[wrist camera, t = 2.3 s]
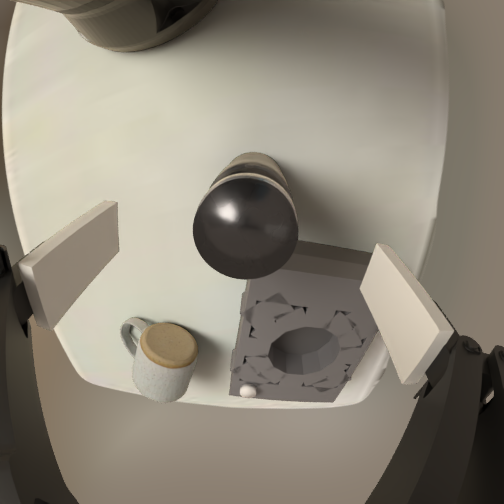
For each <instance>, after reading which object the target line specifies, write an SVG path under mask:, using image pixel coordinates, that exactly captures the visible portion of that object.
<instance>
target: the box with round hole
mask: <svg viewBox="0 0 504 504" xmlns="http://www.w3.org/2000/svg"><path fill="white" fill-rule="evenodd" d="M372 255H373V253H368V252H363V251H357V250H351V249H346V248H340V247H334V246H329V245H323V244H317V243H311V242H305V241H300V240H297V244H296V247H295V250H294V252H293V254H292V256H291V257H290V259H289V260H288V261H287V262H286V263H285V265H283V266H282V267H281V268H280V269H279V270H277V271H276V272H274V273H272V274H270V275H268V276H265V277H262V278H257V279H247V284H246V290H245V292H244V293H242V300H241V309H240V314H241V318H240V323H239V329H238V335H237V340H236V346H235V349H234V350H233V351H232V359H231V367H230V371H232V374H231V382H230V391H229V395H233V396H240V397H245V398H258V399H269V400H281V401H298V402H334V401H335V399H336V398H337V396H338V395H339V393H340V392H341V390H342V389H343V387H344V386H345V384H346V383H347V381H349V380H351V375H352V374H353V372H354V370H355V369H356V367H357V366H358V364H359V362H360V361H361V359H362V357H363V356H364V354H365V352H366V351H367V349H368V347H369V345H370V344H371V342H372V340H373V338H374V336H375V335H376V333H377V331H379V329H378V326H377V324H376V322H375V320H374V318H373V316H372V313H371V311H370V309H369V307H368V305H367V303H366V301H365V299H364V297H363V295H362V293H361V290H360V286H361V284H362V281H363V279H364V276H365V273H366V271H367V268H368V266H369V263H370V260H371V257H372Z"/></svg>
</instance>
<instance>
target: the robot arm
mask: <svg viewBox="0 0 504 504" xmlns="http://www.w3.org/2000/svg"><path fill="white" fill-rule="evenodd" d="M11 1H16V2H21V3H26V4H30V5H34V6H38V7H42V8H45V9H49V10H53V11H56V12H59V13H62V14H63V15H64V16H65V17H66V18H67V19H68V20H69V21H70V22H71V23H72V25H73V26H74V27H75V29H76V30H77V31H78V33H79V34H80V35H81V36H82V37H83V38H84V39H85V40H86V41H88V42H90V43H91V44H94V45H96V46H99V47H102V48H105V49H108V50H112V51H119V52H132V51H139V50H144V49H148V48H152V47H155V46H158V45H161V44H163V43H165V42H168V41H170V40H172V39H174V38H176V37H177V36H179V35H181V34H183V33H184V32H186V31H187V30H189V29H190V28H191V27H193V26H194V25H195V24H197V23H198V22H199V21H200V20H201V19H203V18H204V17H205V16H206V15H207V14H208V12H209V11H210V10H211V9H212V8H213V7H214V5H215V4H216V3H217V1H218V0H11ZM118 252H119V236H118V206H117V202H113V201H104V202H102V203H100V204H99V205H97V206H96V207H94V208H93V209H91V210H89V211H88V212H86V213H85V214H83V215H82V216H80V217H79V218H77V219H76V220H74V221H73V222H71V223H70V224H69V225H67V226H66V227H64V228H63V229H61V230H60V231H59V232H57V233H56V234H54V235H53V236H52V237H50V238H49V239H48V240H46V241H44V242H42V243H41V244H40V245H38V246H37V247H36V248H35V249H33V250H32V251H31V252H30V253H29V254H27V255H26V256H25V257H23V258H22V259H21V260H19V261H18V262H17V263H16V264H15V265H14V266H13V267H11V264H10V260H9V256H8V252H7V248H6V247H5V246H4V245H0V504H79V503H78V502H77V500H76V499H75V497H74V496H73V495H72V493H71V492H70V491H69V490H68V488H67V487H66V484H65V482H64V480H63V478H62V475H61V472H60V469H59V467H58V464H57V461H56V459H55V455H54V452H53V449H52V446H51V443H50V439H49V436H48V432H47V428H46V425H45V421H44V417H43V412H42V408H41V403H40V398H39V393H38V387H37V381H36V374H35V367H34V359H33V349H32V337H31V326H30V322H29V320H28V319H29V318H30V316H31V315H32V314H34V317H35V320H36V323H37V325H38V326H39V327H42V328H44V329H47V330H49V331H52V330H53V328H54V327H55V326H56V325H57V323H58V322H59V321H60V319H61V318H62V317H63V316H64V314H65V313H66V312H67V311H68V309H69V308H70V307H71V306H72V304H73V303H74V302H75V301H76V300H77V298H78V297H79V296H80V295H81V294H82V292H83V291H84V290H85V289H86V288H87V286H88V285H89V284H90V283H91V282H92V281H93V280H94V278H95V277H96V276H97V275H98V274H99V273H100V272H101V270H102V269H103V268H104V267H105V266H106V265H107V264H108V263H109V262H110V261H111V259H112V258H113V257H114V256H115V255H116V254H117V253H118ZM360 290H361V293H362V295H363V297H364V299H365V301H366V303H367V305H368V307H369V309H370V311H371V313H372V316H373V318H374V320H375V322H376V324H377V326H378V329H379V331H380V333H381V335H382V338H383V340H384V342H385V344H386V347H387V349H388V351H389V354H390V356H391V359H392V361H393V363H394V366H395V368H396V371H397V373H398V376H399V378H400V381H401V383H402V385H405V384H417V382H418V381H419V380H420V379H421V378H422V376H423V375H424V374H425V373H426V375H427V378H428V380H427V382H426V383H425V384H424V385H423V387H422V388H421V389H420V390H419V391H418V393H417V394H416V395H415V396H414V399H416V398H417V397H418V396H419V399H418V402H417V404H416V407H415V409H414V412H413V414H412V417H411V419H410V421H409V424H408V426H407V428H406V430H405V433H404V435H403V437H402V439H401V441H400V443H399V445H398V447H397V449H396V451H395V453H394V455H393V457H392V459H391V461H390V463H389V465H388V466H387V468H386V470H385V472H384V473H383V475H382V477H381V479H380V481H379V482H378V484H377V485H376V487H375V489H374V490H373V492H372V493H371V495H370V496H369V498H368V500H367V501H366V503H365V504H504V347H502V346H499V345H497V346H495V347H494V349H493V350H492V352H491V353H490V354H486V353H483V352H482V349H481V347H480V346H479V344H478V343H477V342H476V341H475V340H473V339H472V338H470V337H468V336H459V334H458V333H457V331H456V330H455V328H454V327H453V325H452V324H451V322H450V321H449V320H448V318H446V315H445V314H444V313H443V312H442V310H441V309H440V307H439V306H438V304H437V303H436V302H435V301H434V300H433V299H431V297H430V296H429V295H428V293H427V292H426V291H425V289H424V288H423V287H422V285H421V284H420V283H419V282H418V280H417V279H416V278H415V276H414V275H413V274H412V273H411V271H410V270H409V269H408V268H407V267H406V265H405V264H404V263H403V262H402V260H401V259H400V258H399V257H398V256H397V255H396V253H395V252H394V251H393V250H392V249H391V247H390V246H388V245H383V244H378V243H376V246H375V249H374V252H373V255H372V257H371V260H370V263H369V266H368V268H367V271H366V273H365V276H364V279H363V281H362V284H361V286H360ZM493 390H494V397H493V398H492V399H491V400H490V401H489V402H488V403H487V404H486V398H487V397H488V396H489V395H490V394H491V392H492V391H493Z"/></svg>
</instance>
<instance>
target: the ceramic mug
mask: <svg viewBox="0 0 504 504" xmlns="http://www.w3.org/2000/svg"><path fill="white" fill-rule="evenodd" d="M131 325H133V326H134V327H136V328H137V329H138V330H140V331H141V332H142V335H141V337H140V339H139V341H138V344H137V346H136V345H135V343H134V342H133V340H132V338H131V336H130V333H129V330H130V326H131ZM120 335H121V339H122V341H123V344H124V345H125V347H126V349H127V350H128V352H129V353H130V354H131V355H132V357H133V358H134V364H133V368H132V378H133V382H134V384H135V386H136V388H137V389H138V390H139V391H140V392H141V393H142V394H143V395H144V396H146V397H147V398H149V399H151V400H153V401H157V402H164V403H167V402H173V401H176V400H178V399H179V398H181V397H182V396H183V395H184V394H185V392H186V391H187V388H188V385H189V382H190V379H191V377H192V373H193V371H194V368H195V366H196V363H197V358H198V346H197V343H196V341H195V339H194V337H193V336H192V335H191V334H190V333H189V332H188V331H187V330H185V329H183V328H182V327H180V326H177V325H175V324H171V323H156V324H153V325H151V326H149V325H148V324H147V323H145V322H144V321H143V320H141V319H139V318H136V317H132V318H130V319H128V320H126V321H125V322H123V324H122V325H121V328H120Z"/></svg>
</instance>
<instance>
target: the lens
mask: <svg viewBox="0 0 504 504" xmlns="http://www.w3.org/2000/svg"><path fill="white" fill-rule="evenodd" d="M193 237H194V241H195V245H196V247H197V250H198V252H199V253H200V255H201V257H202V258H203V259H204V260H205V262H206V263H207V264H208V265H209V266H211V267H212V268H213V269H215V270H216V271H218V272H219V273H221V274H224V275H226V276H229V277H232V278H237V279H257V278H262V277H265V276H268V275H270V274H272V273H274V272H276V271H277V270H279V269H280V268H281V267H282V266H283V265H285V263H286V262H287V261H288V260H289V259H290V257H291V256H292V254H293V252H294V250H295V247H296V244H297V240H298V218H297V213H296V210H295V207H294V204H293V199H292V196H291V193H290V190H289V187H288V184H287V182H286V179H285V178H284V176H283V174H282V173H281V170H280V168H279V166H278V165H277V163H276V162H275V161H274V160H273V159H272V158H270V157H269V156H267V155H265V154H262V153H257V152H249V153H245V154H242V155H240V156H238V157H236V158H235V159H234V160H233V161H232V162H231V163H230V164H229V165H228V166H227V167H226V168H224V169H223V171H222V172H221V173H220V174H219V175H218V177H217V178H216V179H215V181H214V182H213V184H212V185H211V187H210V189H209V190H208V192H207V193H206V194H205V196H204V197H203V199H202V200H201V202H200V204H199V206H198V209H197V212H196V215H195V218H194V223H193Z"/></svg>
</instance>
